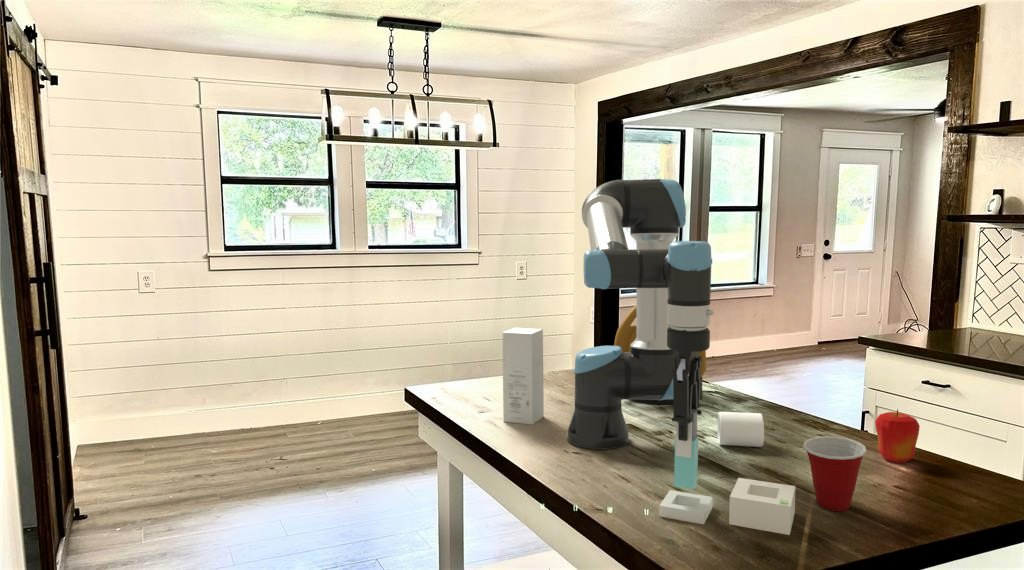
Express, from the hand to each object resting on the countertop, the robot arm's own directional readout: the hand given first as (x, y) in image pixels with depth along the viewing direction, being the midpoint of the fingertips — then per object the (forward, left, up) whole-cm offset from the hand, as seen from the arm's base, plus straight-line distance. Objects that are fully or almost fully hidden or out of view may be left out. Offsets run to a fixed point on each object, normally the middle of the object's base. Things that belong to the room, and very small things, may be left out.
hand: (686, 452), depth 127 cm
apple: (+36, +50, -12) cm, 63 cm away
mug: (+2, +48, -12) cm, 50 cm away
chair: (-27, +87, -12) cm, 91 cm away
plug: (0, 0, -6) cm, 6 cm away
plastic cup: (+24, +16, -12) cm, 32 cm away
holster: (0, 0, -12) cm, 12 cm away
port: (+13, +2, -12) cm, 18 cm away
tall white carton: (-55, +45, -12) cm, 72 cm away
